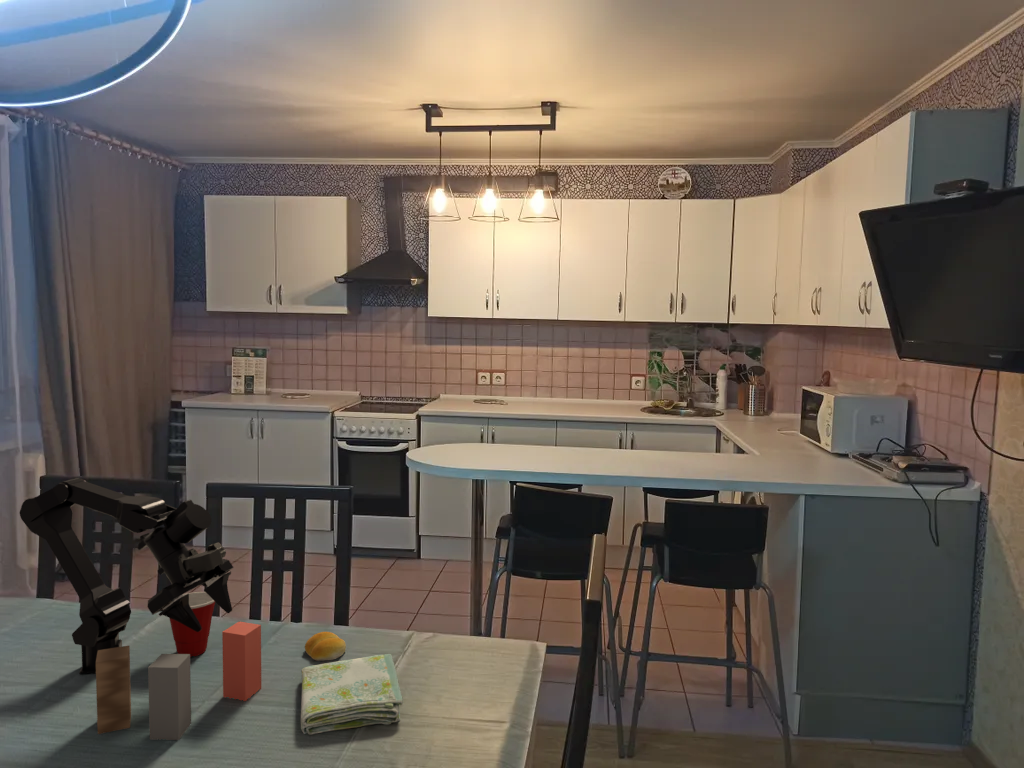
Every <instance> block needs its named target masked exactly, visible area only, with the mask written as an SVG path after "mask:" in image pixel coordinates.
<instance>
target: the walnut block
mask: <svg viewBox="0 0 1024 768" xmlns="http://www.w3.org/2000/svg"><path fill="white" fill-rule="evenodd" d="M130 648H131V647H130V645H122V647H116V648H110V649H103V650H98V652H97V658H96V673H95V684H96V685H95V686H96V719H97V720H96V721H97V724H96V725H97V735H101V734H105V733H111V732H115V731H121V730H126V729H131V723H132V722H131V721H132V720H131V719H132V701H131V700H132V699H131V698H132V697H131V695H132V694H131V689H132V688H131V658H130V657H131V655H130V653H131V652H130V651H131V649H130Z"/></svg>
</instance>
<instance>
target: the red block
mask: <svg viewBox="0 0 1024 768" xmlns="http://www.w3.org/2000/svg"><path fill="white" fill-rule="evenodd" d="M221 636H222V691H223V692H222V696H223V697H222V698H226V697H229V698H228V699H231V698H234V699H233V700H236V699H239V700H238V701H242V700H243V701H242V702H247V701H248V700H249V699H251V698H252V697H253V696H254V695H255V694H257V693H258V692H259V691H260V690H262V624H257V623H251V622H245V621H244V622H243V621H237V622H236V623H233V624H232V625H231V626H229V627H228V628H226V629H224V630H223V631H222V635H221ZM259 689H260V690H259ZM258 690H259V691H258ZM257 691H258V692H257ZM256 692H257V693H256ZM253 694H254V695H253ZM252 695H253V696H252ZM251 696H252V697H251ZM248 698H249V699H248ZM247 699H248V700H247Z"/></svg>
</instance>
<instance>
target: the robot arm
mask: <svg viewBox="0 0 1024 768" xmlns="http://www.w3.org/2000/svg"><path fill="white" fill-rule="evenodd" d="M75 505H78V506H81V507H83V508H88V509H90V510H93V511H96V512H98V513H102V514H104V515H107V516H111V517H113V518H114V519H116V521H117V523H118V525H119V526H121V527H123V528H125V529H127V530H128V531H130V532H132V533H134V534H139V533H140V536H139V542H138V544H137V550H138V551H141V550H144V549H145V548H148V549H149V551H150V552H151V554H152V555H153V557H154V558H155V559H154V560H156V562H157V563H158V565H159V566H160V568H159V569H158V570H157V573H158V574H159V575H160V576H161V575H163V574H165V575H166V577H167V578H168V580H169V582H170V583H171V584H170V585H167V586H166V587H163V588H162V589H161V590H159V591H158V592H157V593H155V594H154V595H153V596H152V597H150V598H149V599H148V600H147V607H146V608H147V609H148V610H149V612H150V613H151V615H152V616H153V615H156V614H157V613H158V616H160V617H161V616H163V617H166V618H168V619H170V618H171V619H173V620H175V621H178V622H180V623H181V624H183V625H185V626H187V627H189V628H191V629H192V630H194V631H196V632H199V631H200V630H202V627H201V625H200V623H199V621H198V619H197V617H196V616H195V614H194V612H193V610H192V609H191V607H190V605H189V593H190V591H192V590H194V589H195V588H197V587H199V586H203V587H205V588H204V589H203V592H206V593H207V594H208V595H209V596H210V597H211V598H212V599H213V600H214V601H215V604H217V606H219V607H220V609H222V610H223V611H224V612H225V613H227V614H230V613H231V612H233V607H232V602H231V598H230V594H229V589H228V581H229V577H230V576H231V575H232V571H231V570H233V569H234V566H233V564H232V563H231V561H230V559H227V558H225V557H226V554H227V551H226V550H225V548H224V547H223V546H222V544H221V543H220V542H215V543H212V544H210V545H208V546H207V548H206V549H207V550H205V551H203V552H199V553H198V551H197V549H194V548H191V549H188V547H187V546H186V544H188V543H190V542H191V541H193V540H194V539H195V538H197V537H198V536H199V535H201V534H202V533H203V532H204V531H205V530H207V529H208V528H209V527H210V526H211V524H212V517H211V514H210V512H209V511H208V509H205V508H204V507H203V506H201V505H200V504H196V503H194V502H193V500H192V499H188V500H184V501H183V502H181V503H180V504H179V506H178V507H174V506H172V505H169V504H166V501H165V500H163V499H162V498H159V497H154V496H147V495H142V496H141V495H139V496H137V495H127V494H124V493H120V492H118V491H115V490H113V489H110V488H106V487H103V486H100V485H97V484H94V483H92V482H88V481H86V480H85V479H83V478H80V477H75V478H71V479H68V480H63V481H61V482H59V483H58V484H56V485H55V486H53V487H52V488H50V489H48V490H47V491H44V492H43V493H41V494H39V495H37V496H33V497H30V498H27V499H24V501H23V502H22V504H21V507H20V510H19V516H20V519H21V520H22V522H23V523H24V525H25V526H26V527H27V528H28V530H29V531H30V532H31V533H33V534H34V535H36V536H38V537H40V538H42V539H44V540H45V541H46V543H47V544H48V546H49V547H50V549H51V551H52V553H53V555H54V556H55V558H56V559H57V561H58V563H59V565H60V566H61V568H62V570H63V572H64V573H65V575H66V577H67V578H68V580H69V582H70V584H71V586H72V587H73V589H74V591H75V593H76V595H77V596H78V598H79V600H80V602H79V604H80V605H79V614H78V615H79V618H80V621H81V624H80V625H79V626H78V627H77V628H76V630H74V631H73V633H72V634H71V637H72V640H73V643H74V644H75V645H78V646H81V667H80V669H79V675H83V674H94V673H95V674H96V658H97V652H98V650H103V649H110V648H116V647H122V646H123V640H122V639H120V636H119V635H120V633H121V632H123V631H125V630H126V628H127V624H128V622H129V621H130V619H131V614H132V609H131V607H130V604H131V601H129V600H128V599H127V597H126V596H125V593H124V591H123V589H121V587H117V588H115V589H112V588H110V587H109V586H107V585H106V584H105V582H104V580H103V579H102V577H101V576H100V574H99V572H98V570H97V569H96V567H95V566H94V564H93V561H92V560H91V558H90V557H89V554H88V553H87V552H86V550H85V548H84V546H83V544H82V543H81V541H80V539H79V538H78V536H77V534H76V532H75V531H74V529H73V526H72V525H73V515H74V514H73V509H72V508H71V507H74V506H75ZM162 526H163V527H162ZM148 530H152V532H150V533H149V532H147V533H145V534H142V535H141V533H143V532H145V531H148ZM187 593H188V594H187ZM182 594H187V595H185V596H183V595H182Z"/></svg>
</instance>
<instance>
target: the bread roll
mask: <svg viewBox="0 0 1024 768" xmlns="http://www.w3.org/2000/svg"><path fill="white" fill-rule="evenodd" d="M346 648H347V644H346V641H345V640H344V639H342V638H340V637H339V636H338V635H337V634H336V633H333V632H332V631H321V632H317V633H315V634H313V635H312V636H311V637H309V638H308V640H307V641H306V642H305V645H304V651H305V653H306V654H307V655H308V656H309V657H311V659H313V660H314V661H319V662H320V661H323V662H325V661H334V660H336V659H338V658H340V657H341V656H342V655H343V654H344V653H345V652H346Z"/></svg>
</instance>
